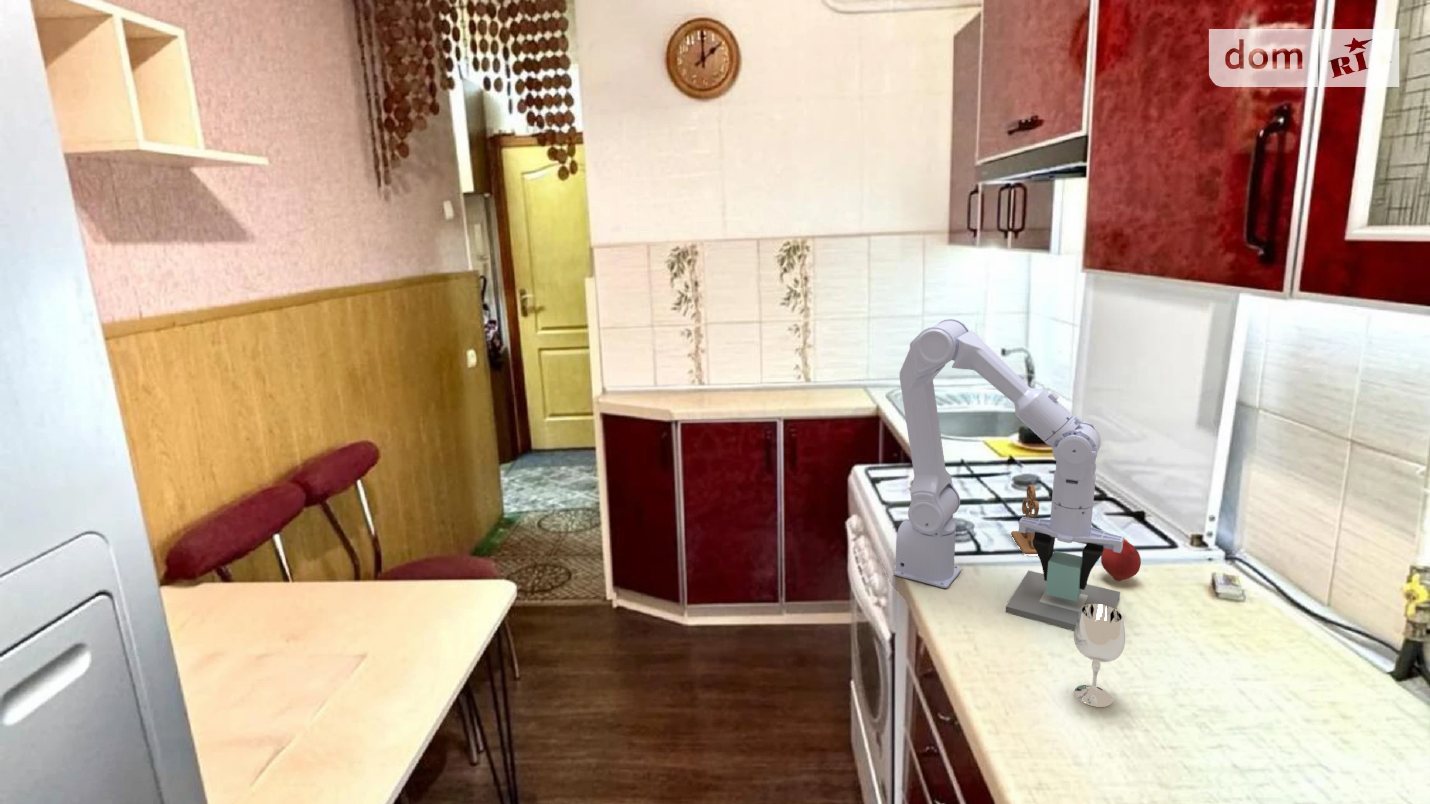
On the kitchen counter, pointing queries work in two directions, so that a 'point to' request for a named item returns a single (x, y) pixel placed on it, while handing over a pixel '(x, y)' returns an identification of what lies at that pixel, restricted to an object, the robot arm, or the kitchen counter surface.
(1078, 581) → the block
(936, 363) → the robot arm
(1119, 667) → the kitchen counter surface
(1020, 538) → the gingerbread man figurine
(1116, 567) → the onion
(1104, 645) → the wineglass
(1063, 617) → the tile
